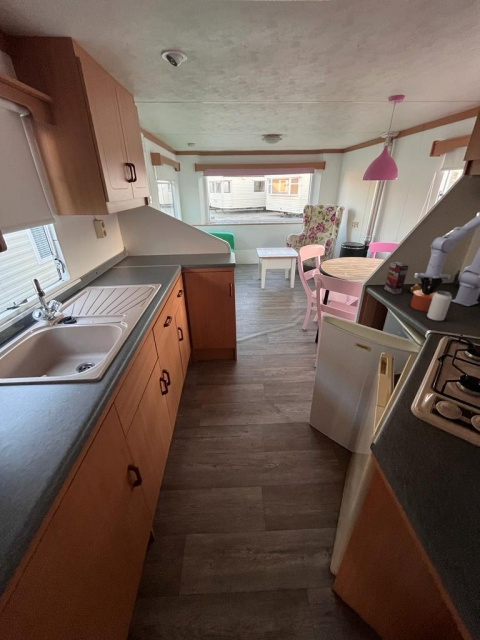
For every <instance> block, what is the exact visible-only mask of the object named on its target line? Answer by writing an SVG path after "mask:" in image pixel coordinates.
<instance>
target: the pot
mask: <svg viewBox="0 0 480 640" xmlns="http://www.w3.org/2000/svg"><path fill="white" fill-rule="evenodd" d="M431 302H432V299H426V298H421V297H418V296H416V295H414V294H413V296H412V298H411V302H410V307H411V308H412V309H414V310H417V311H420V312H424V313H425V312H426V313H428V311H429V308H430V305H431Z"/></svg>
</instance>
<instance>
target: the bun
mask: <svg viewBox="0 0 480 640" xmlns="http://www.w3.org/2000/svg"><path fill="white" fill-rule="evenodd" d="M416 290H422V286H421V285H419V284H415V285H413V286H412V287H410V290H409V292H410V293H412V294H413V292H414V291H416Z"/></svg>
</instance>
